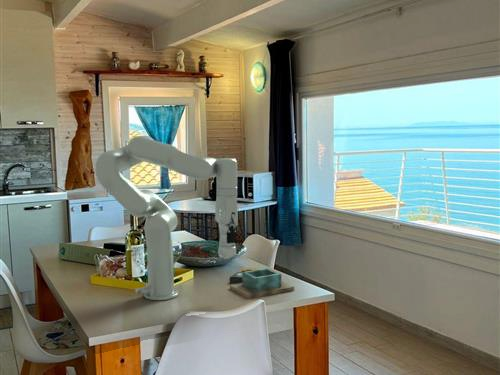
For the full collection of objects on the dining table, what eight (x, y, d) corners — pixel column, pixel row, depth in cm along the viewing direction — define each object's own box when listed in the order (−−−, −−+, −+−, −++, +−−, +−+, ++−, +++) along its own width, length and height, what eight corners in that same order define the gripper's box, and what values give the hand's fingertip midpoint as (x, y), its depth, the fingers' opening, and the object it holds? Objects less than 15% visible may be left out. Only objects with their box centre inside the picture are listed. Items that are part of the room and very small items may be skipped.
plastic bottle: (229, 261, 197) (229, 206, 195) (214, 259, 200) (214, 204, 198) (239, 257, 202) (239, 204, 200) (224, 255, 206) (224, 202, 204)
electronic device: (262, 276, 233) (262, 268, 233) (247, 285, 219) (247, 277, 218) (243, 274, 236) (243, 266, 236) (228, 283, 222) (228, 275, 222)
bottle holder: (248, 298, 200) (248, 281, 200) (230, 288, 214) (229, 272, 213) (294, 290, 210) (294, 273, 209) (274, 281, 223) (273, 265, 222)
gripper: (207, 190, 204) (208, 238, 206) (228, 195, 189) (228, 247, 191) (225, 189, 208) (226, 236, 210) (247, 194, 193) (247, 244, 195)
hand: (227, 240), depth 201 cm, fingers closed on plastic bottle, 5 cm apart
